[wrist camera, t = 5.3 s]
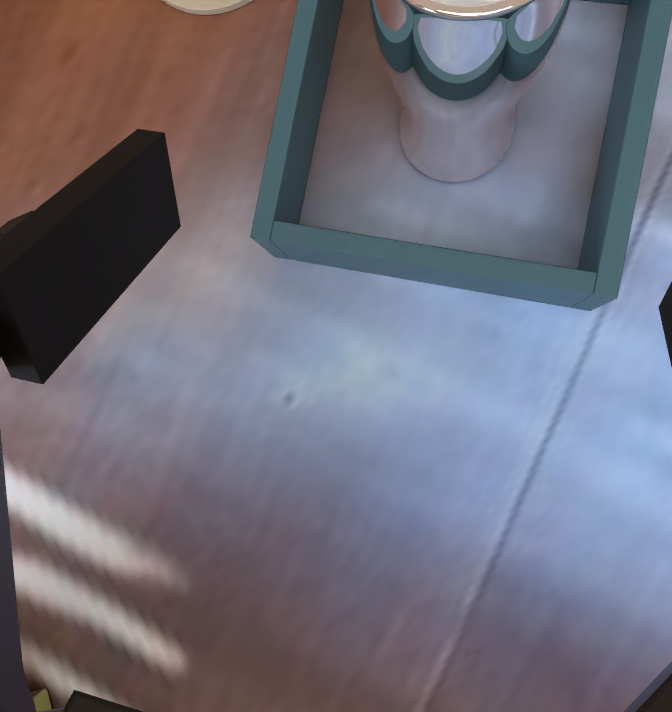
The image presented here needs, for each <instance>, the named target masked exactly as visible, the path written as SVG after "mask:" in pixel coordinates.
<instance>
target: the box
mask: <svg viewBox="0 0 672 712" xmlns="http://www.w3.org/2000/svg"><path fill="white" fill-rule="evenodd" d="M589 1H600V2H611V3H622V4H629V8H628V13H627V19H626V24H625V29H624V34H623V39H622V44H621V50H620V55H619V60H618V65H617V70H616V75H615V80H614V86H613V91H612V96H611V101H610V106H609V111H608V117H607V122H606V127H605V132H604V137H603V142H602V148H601V153H600V158H599V163H598V168H597V173H596V179H595V184H594V189H593V194H592V199H591V204H590V209H589V215H588V220H587V225H586V230H585V235H584V240H583V246H582V251H581V256H580V261H579V266H578V269H572V268H566V267H559V266H553V265H547V264H541V263H535V262H528V261H522V260H516V259H510V258H504V257H497V256H491V255H485V254H479V253H473V252H466V251H460V250H454V249H448V248H442V247H435V246H429V245H423V244H417V243H411V242H404V241H398V240H392V239H386V238H380V237H373V236H367V235H361V234H355V233H349V232H342V231H336V230H330V229H324V228H318V227H311V226H305V225H299V224H298V222H299V217H300V212H301V207H302V202H303V197H304V192H305V187H306V182H307V177H308V172H309V168H310V163H311V158H312V153H313V148H314V143H315V138H316V133H317V128H318V123H319V118H320V113H321V108H322V103H323V98H324V93H325V88H326V83H327V78H328V73H329V68H330V63H331V58H332V53H333V49H334V44H335V39H336V34H337V29H338V24H339V19H340V14H341V9H342V4H343V0H298V4H297V9H296V14H295V19H294V24H293V28H292V33H291V38H290V43H289V48H288V53H287V58H286V63H285V68H284V73H283V78H282V83H281V88H280V93H279V97H278V102H277V107H276V112H275V117H274V122H273V127H272V132H271V137H270V142H269V147H268V152H267V157H266V162H265V166H264V171H263V176H262V181H261V186H260V191H259V196H258V201H257V206H256V211H255V216H254V221H253V226H252V231H251V236H250V237H251V238H252V239H254V240H255V241H256V242H257V243H258V244H260V245H261V246H262V247H263V248H265V249H266V250H267V251H268V252H270V253H271V254H272V255H273V256H274V257H279V258H285V259H292V260H297V261H303V262H309V263H315V264H321V265H326V266H332V267H338V268H344V269H350V270H356V271H361V272H367V273H373V274H379V275H385V276H391V277H396V278H402V279H408V280H414V281H420V282H425V283H431V284H437V285H443V286H449V287H455V288H460V289H466V290H472V291H478V292H484V293H489V294H495V295H501V296H507V297H513V298H519V299H524V300H530V301H536V302H542V303H548V304H554V305H559V306H565V307H571V308H576V309H582V310H588V311H591V310H593V309H595V308H597V307H599V306H602V305H604V304H606V303H608V302H610V301H612V300H614V299H616V298H617V297H618V292H619V286H620V281H621V276H622V271H623V266H624V260H625V255H626V250H627V245H628V240H629V234H630V229H631V224H632V219H633V214H634V208H635V203H636V198H637V193H638V188H639V182H640V177H641V172H642V167H643V162H644V157H645V151H646V146H647V141H648V136H649V131H650V125H651V120H652V115H653V110H654V105H655V99H656V94H657V89H658V84H659V79H660V73H661V68H662V63H663V58H664V53H665V48H666V42H667V37H668V32H669V27H670V22H671V16H672V0H589Z"/></svg>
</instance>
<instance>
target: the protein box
mask: <svg viewBox="0 0 672 712" xmlns="http://www.w3.org/2000/svg"><path fill="white" fill-rule="evenodd" d="M31 694H32V697H33V700H34V703H35V707H36V711H37V712H39V711H44V710H50V709H52V707H51V703H50V699H49V695H48V691H47V690H46V689H45V688H42V689H39V690H36V691H32V692H31Z"/></svg>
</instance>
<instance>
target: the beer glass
mask: <svg viewBox="0 0 672 712" xmlns="http://www.w3.org/2000/svg"><path fill="white" fill-rule="evenodd" d="M571 1H572V0H370V8H371V17H372V23H373V28H374V33H375V37H376V42H377V47H378V50H379V54H380V57H381V59H382V62H383V64H384V67H385V69H386V72H387V74H388V77H389V79H390V81H391V83H392V85H393V87H394V89H395V91H396V93H397V95H398V96H399V98H400V100H401V102H402V104H403V108H402V111H401V115H400V120H399V136H400V141H401V145H402V148H403V151H404V153H405V155H406V157H407V158H408V160H409V161H410V162H411V163H412V165H413V166H414V167H415V168H416V169H418V170H419V171H420V172H421V173H423V174H424V175H426V176H428V177H430V178H433V179H435V180H439V181H443V182H464V181H468V180H472V179H475V178H477V177H480V176H482V175H483V174H485V173H487V172H488V171H490V170H491V169H492V168H494V167H495V166H496V165H497V164H498V163H499V162H500V161H501V159H502V158H503V157H504V155H505V154H506V152H507V151H508V149H509V147H510V145H511V142H512V139H513V136H514V131H515V123H516V115H515V106H516V105H517V104H518V103H519V101H520V100H521V99H522V97H523V96H524V95H525V93H526V92H527V91H528V89H529V88H530V87H531V85H532V84H533V83H534V81H535V80H536V78H537V76H538V75H539V73H540V72H541V70H542V68H543V67H544V65H545V63H546V62H547V60H548V58H549V57H550V55H551V53H552V51H553V49H554V46H555V44H556V42H557V39H558V37H559V35H560V32H561V30H562V27H563V25H564V22H565V20H566V17H567V13H568V10H569V7H570V4H571Z"/></svg>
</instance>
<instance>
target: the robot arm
mask: <svg viewBox="0 0 672 712" xmlns="http://www.w3.org/2000/svg"><path fill="white" fill-rule="evenodd" d="M180 226H181V225H180V219H179V214H178V208H177V202H176V196H175V190H174V185H173V179H172V173H171V167H170V161H169V156H168V150H167V144H166V138H165V133H162V132H155V131H148V130H141V129H137V130H136V131H134V132H133V133H132V134H131V135H129V136H128V137H127V138H126V139H124V140H123V141H122V142H121V143H119V144H118V145H117V146H115V147H114V148H113V149H112V150H110V151H109V152H108V153H107V154H105V155H104V156H103V157H102V158H100V159H99V160H98V161H97V162H95V163H94V164H93V165H91V166H90V167H89V168H88V169H86V170H85V171H84V172H83V173H81V174H80V175H79V176H78V177H76V178H75V179H74V180H73V181H71V182H70V183H69V184H67V185H66V186H65V187H64V188H62V189H61V190H60V191H59V192H57V193H56V194H55V195H54V196H52V197H51V198H50V199H49V200H47V201H46V202H45V203H43V204H42V205H41V206H40V207H38V208H37V209H36V210H35V211H30V212H28V213H26V214H23V215H21V216H19V217H16V218H14V219H12V220H10V221H8V222H7V223H6V224H5V225H3V226H2V227H1V228H0V358H1V357H2V359H3V361H4V363H5V365H6V367H7V369H8V371H9V373H10V375H11V377H13V378H18V379H22V380H26V381H31V382H35V383H40V384H44V383H45V382H46V380H47V379H48V378H49V377H50V376H51V375H52V374H53V372H54V371H55V370H56V369H57V368H58V367H59V365H60V364H61V363H62V362H63V361H64V360H65V359H66V357H67V356H68V355H69V354H70V353H71V352H72V351H73V349H74V348H75V347H76V346H77V345H78V344H79V343H80V341H81V340H82V339H83V338H84V337H85V336H86V334H87V333H88V332H89V331H90V330H91V329H92V328H93V326H94V325H95V324H96V323H97V322H98V321H99V320H100V318H101V317H102V316H103V315H104V314H105V313H106V312H107V310H108V309H109V308H110V307H111V306H112V305H113V303H114V302H115V301H116V300H117V299H118V298H119V297H120V295H121V294H122V293H123V292H124V291H125V290H126V289H127V287H128V286H129V285H130V284H131V283H132V282H133V280H134V279H135V278H136V277H137V276H138V275H139V274H140V272H141V271H142V270H143V269H144V268H145V267H146V266H147V264H148V263H149V262H150V261H151V260H152V259H153V258H154V256H155V255H156V254H157V253H158V252H159V251H160V249H161V248H162V247H163V246H164V245H165V244H166V243H167V241H168V240H169V239H170V238H171V237H172V236H173V235H174V233H175V232H176V231H177V230H178V229H179V228H180ZM659 311H660V316H661V320H662V325H663V329H664V334H665V339H666V343H667V348H668V352H669V357H670V362H671V366H672V282H671V284H670V286H669V288H668V290H667V292H666V294H665V296H664V298H663V300H662V302H661V304H660V306H659ZM0 712H37V711H36V707H35V703H34V700H33V697H32V694H31V691H30V689H29V686H28V684H27V681H26V678H25V674H24V670H23V664H22V655H21V644H20V634H19V623H18V612H17V602H16V591H15V580H14V570H13V559H12V548H11V538H10V527H9V516H8V506H7V495H6V485H5V474H4V463H3V453H2V442H1V431H0ZM39 712H142V711H139V710H136V709H133V708H130V707H126V706H123V705H120V704H117V703H114V702H111V701H108V700H105V699H101V698H98V697H95V696H92V695H89V694H86V693H83V692H80V691H76V690H74V691H73V693H72V695H71V697H70V699H69V701H68V702H67V704H66V706H65V708H57V709H50V710H44V711H39ZM624 712H672V662H671V663H670V664H669V665H668V666H667V667H666V668H665V669H664V670H663V671H662V672H661V673H660V674H659V675H658V676H657V677H656V678H655V679H654V681H653V682H652V683H651V684H650V685H649V686H648V687H647V688H646V689H645V690H644V691H643V692H642V693H641V694H640V695H639V696H638V697H637V698H636V699H635V700H634V701H633V702H632V703H631V705H630V706H629V707H628V708H627V709H626V710H625V711H624Z"/></svg>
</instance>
